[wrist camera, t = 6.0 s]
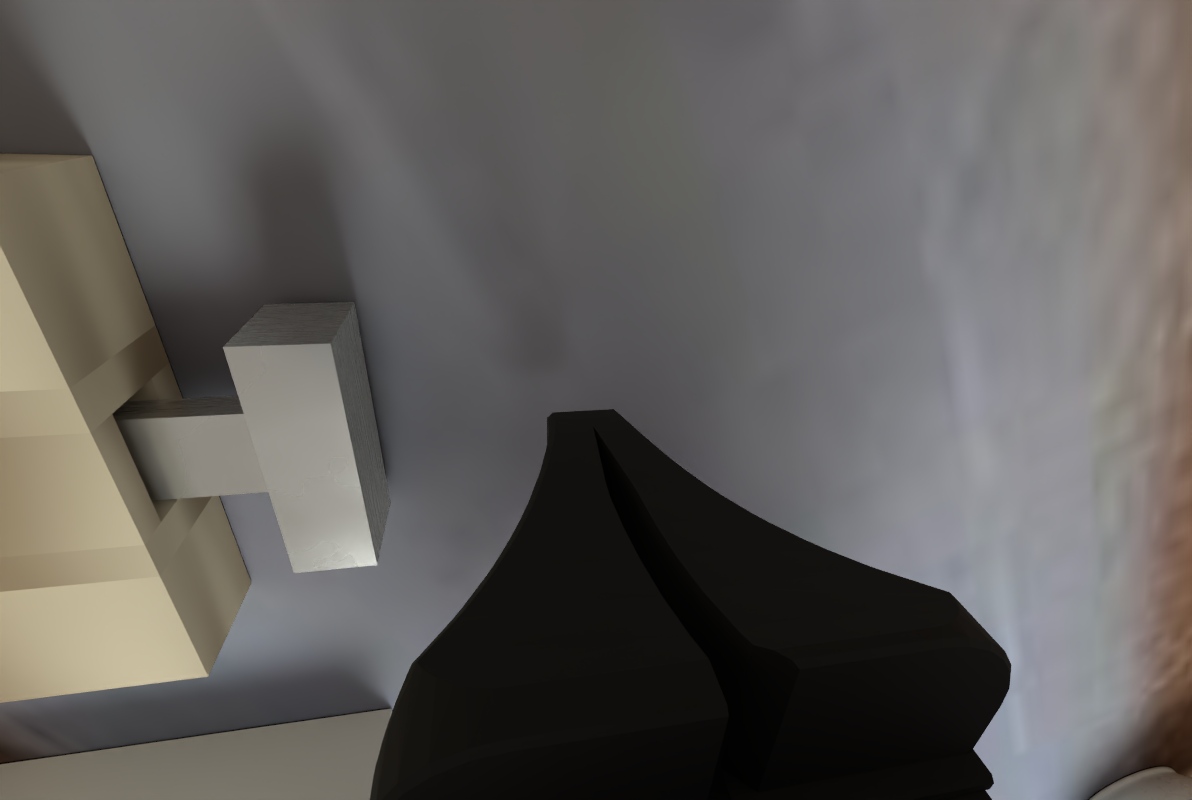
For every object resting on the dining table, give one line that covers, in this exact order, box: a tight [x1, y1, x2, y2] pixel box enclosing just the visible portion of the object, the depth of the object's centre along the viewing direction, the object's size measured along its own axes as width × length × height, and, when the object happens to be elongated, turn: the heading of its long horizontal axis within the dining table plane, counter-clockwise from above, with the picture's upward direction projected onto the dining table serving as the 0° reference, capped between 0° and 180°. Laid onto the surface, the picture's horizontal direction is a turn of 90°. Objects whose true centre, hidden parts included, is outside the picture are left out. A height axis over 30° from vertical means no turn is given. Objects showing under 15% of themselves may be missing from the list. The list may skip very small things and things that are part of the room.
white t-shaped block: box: [112, 302, 390, 573], centre depth 10 cm, size 8×5×2 cm, turn 87°
